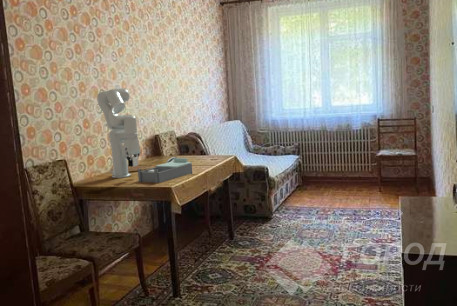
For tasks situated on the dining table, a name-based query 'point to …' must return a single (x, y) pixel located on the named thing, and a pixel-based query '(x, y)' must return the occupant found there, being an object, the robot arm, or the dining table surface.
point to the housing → (163, 173)
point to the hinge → (171, 159)
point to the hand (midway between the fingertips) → (133, 165)
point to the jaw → (135, 161)
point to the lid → (175, 163)
